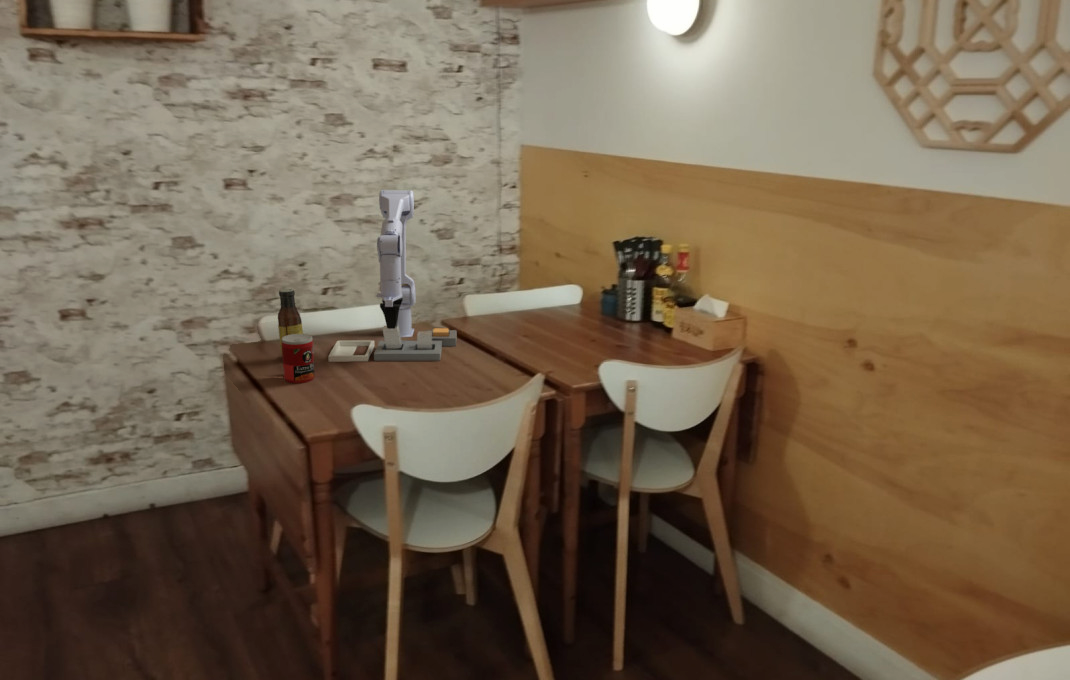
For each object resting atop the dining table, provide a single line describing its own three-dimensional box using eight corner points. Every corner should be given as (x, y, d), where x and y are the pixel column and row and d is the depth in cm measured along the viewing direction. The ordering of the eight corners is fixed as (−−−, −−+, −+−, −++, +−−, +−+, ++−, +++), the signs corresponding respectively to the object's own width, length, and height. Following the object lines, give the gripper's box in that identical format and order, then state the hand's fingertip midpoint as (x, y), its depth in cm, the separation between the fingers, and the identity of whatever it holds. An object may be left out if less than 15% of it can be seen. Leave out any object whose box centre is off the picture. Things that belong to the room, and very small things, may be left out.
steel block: (388, 346, 237) (384, 325, 235) (402, 343, 237) (398, 323, 235) (386, 350, 233) (382, 329, 231) (400, 347, 233) (396, 327, 231)
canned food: (297, 385, 210) (294, 343, 207) (277, 379, 214) (274, 338, 211) (321, 378, 215) (319, 337, 212) (301, 372, 220) (299, 332, 217)
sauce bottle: (308, 357, 233) (304, 288, 227) (300, 364, 227) (295, 292, 221) (285, 356, 233) (281, 287, 228) (276, 363, 227) (272, 291, 222)
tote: (337, 347, 243) (337, 340, 242) (374, 347, 244) (374, 340, 243) (328, 363, 228) (328, 356, 227) (367, 363, 229) (367, 356, 228)
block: (418, 351, 238) (418, 331, 236) (432, 351, 238) (432, 331, 236) (417, 355, 234) (417, 335, 232) (431, 355, 234) (431, 335, 233)
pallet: (379, 349, 241) (379, 340, 241) (442, 349, 243) (441, 340, 242) (374, 362, 229) (373, 353, 228) (440, 362, 230) (439, 353, 230)
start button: (433, 338, 250) (433, 328, 249) (448, 338, 250) (448, 328, 249) (433, 342, 245) (433, 332, 245) (448, 342, 246) (448, 332, 245)
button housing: (426, 339, 252) (426, 330, 251) (456, 339, 253) (456, 330, 252) (424, 348, 243) (424, 338, 242) (455, 348, 244) (455, 338, 243)
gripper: (379, 273, 236) (380, 319, 240) (372, 283, 222) (374, 333, 226) (404, 273, 237) (405, 319, 240) (399, 284, 223) (400, 333, 226)
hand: (392, 326), depth 233 cm, fingers closed on steel block, 4 cm apart
